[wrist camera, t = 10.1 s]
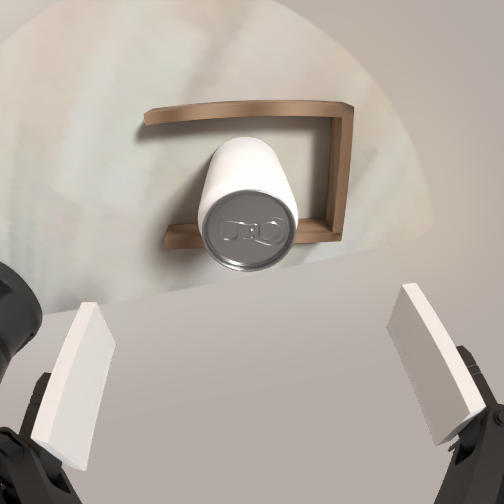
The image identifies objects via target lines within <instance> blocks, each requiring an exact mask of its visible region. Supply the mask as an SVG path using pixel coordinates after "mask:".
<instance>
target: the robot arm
mask: <svg viewBox="0 0 504 504" xmlns="http://www.w3.org/2000/svg"><path fill="white" fill-rule="evenodd" d="M41 323H42V311H41V308H40V305H39V303H38V301H37V299H36V297H35V295H34V294H33V292H32V291H31V289H30V288H29V286H28V285H27V284H26V283H25V282H24V281H23V279H22V278H21V277H20V276H19V275H18V274H16V273H15V272H14V271H13V270H12V269H10V268H9V267H8V266H6V265H5V264H3V263H1V262H0V383H1V381H2V378H3V376H4V374H5V372H6V369H7V367H8V365H9V363H10V361H11V359H12V357H13V356H14V355H15V354H16V353H17V352H18V351H20V349H22V348H23V347H24V346H25V345H26V344H27V343H28V342H29V341H31V340H32V339H33V338H34V337H35V335H36V334H37V332H38V330H39V328H40V326H41ZM387 330H388V332H389V334H390V336H391V338H392V340H393V342H394V345H395V347H396V349H397V351H398V354H399V356H400V358H401V361H402V363H403V365H404V367H405V370H406V372H407V374H408V377H409V379H410V382H411V384H412V386H413V388H414V391H415V394H416V396H417V398H418V401H419V404H420V406H421V409H422V411H423V414H424V416H425V419H426V422H427V424H428V427H429V430H430V433H431V435H432V438H433V441H434V444H435V446H438V445H440V444H443V443H445V442H448V441H450V440H452V439H453V438H454V437H455V436H456V435H457V434H458V435H459V438H460V439H459V440H458V441H456V443H454V444H453V445H452V446H450V448H449V450H448V451H449V452H450V451H451V450H453V449H454V448H455V450H454V452H453V456H452V459H451V462H450V465H449V467H448V470H447V473H446V475H445V478H444V480H443V483H442V485H441V488H440V490H439V493H438V495H437V497H436V499H435V502H434V504H504V405H502V404H498V403H497V402H496V400H495V398H494V396H493V394H492V392H491V390H490V388H489V386H488V384H487V382H486V380H485V378H484V376H483V375H482V373H481V371H480V369H479V367H478V366H477V365H476V362H475V360H474V358H473V356H472V355H471V353H470V352H469V351H467V349H466V348H464V347H463V346H458V347H455V346H454V344H453V342H452V340H451V339H450V337H449V335H448V333H447V332H446V330H445V329H444V327H443V325H442V323H441V322H440V320H439V319H438V317H437V315H436V314H435V312H434V310H433V309H432V307H431V306H430V304H429V303H428V301H427V299H426V298H425V296H424V295H423V293H422V292H421V290H420V289H419V287H418V285H417V284H416V283H411V284H402V285H401V288H400V291H399V295H398V297H397V300H396V303H395V306H394V309H393V312H392V315H391V318H390V320H389V323H388V325H387ZM115 346H116V343H115V341H114V339H113V337H112V335H111V333H110V331H109V329H108V326H107V324H106V322H105V320H104V318H103V315H102V313H101V311H100V309H99V306H98V304H97V302H82V303H81V306H80V308H79V310H78V312H77V314H76V317H75V319H74V321H73V323H72V325H71V328H70V330H69V332H68V334H67V337H66V339H65V342H64V344H63V346H62V349H61V352H60V354H59V356H58V359H57V361H56V364H55V366H54V369H53V371H52V373H45V372H44V374H43V375H42V376H41V377H40V379H39V380H38V381H37V383H36V386H35V388H34V391H33V395H32V396H31V399H30V404H29V405H28V407H27V410H26V413H25V416H24V420H23V423H22V426H21V429H20V432H19V435H17V434H16V433H15V432H14V431H13V430H11V429H10V428H8V427H0V504H82V503H81V501H80V499H79V497H78V496H77V494H76V492H75V491H74V489H73V487H72V485H71V483H70V481H69V479H68V478H67V476H66V474H65V472H64V470H63V469H62V468H61V466H62V462H63V463H64V464H66V465H67V466H69V467H71V468H76V469H79V470H83V471H86V468H87V462H88V457H89V452H90V447H91V442H92V437H93V432H94V428H95V423H96V419H97V414H98V410H99V406H100V402H101V397H102V393H103V390H104V386H105V382H106V378H107V374H108V371H109V367H110V363H111V360H112V356H113V353H114V350H115ZM1 483H2V485H1Z"/></svg>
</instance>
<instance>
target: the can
mask: <svg viewBox="0 0 504 504" xmlns="http://www.w3.org/2000/svg"><path fill="white" fill-rule="evenodd" d="M297 225H298V211H297V206H296V202H295V199H294V197H293V194H292V191H291V189H290V186H289V184H288V182H287V179H286V177H285V174H284V172H283V170H282V167H281V165H280V163H279V160H278V158H277V156H276V154H275V153H274V151H273V150H272V149H271V148H270V147H269V146H268V145H267V144H266V143H264V142H262V141H261V140H258V139H255V138H251V137H239V138H234V139H231V140H229V141H227V142H225V143H224V144H222V145H221V146H220V147H219V148H218V149H217V150H216V152H215V153H214V155H213V157H212V159H211V162H210V165H209V169H208V173H207V176H206V180H205V184H204V188H203V192H202V197H201V201H200V205H199V211H198V226H199V230H200V233H201V236H202V239H203V242H204V245H205V247H206V249H207V251H208V252H209V254H210V255H211V256H212V257H213V258H214V259H215V260H216V261H217V262H219V263H220V264H222V265H223V266H225V267H227V268H230V269H233V270H237V271H245V272H251V271H259V270H263V269H266V268H269V267H271V266H273V265H275V264H276V263H278V262H279V261H281V260H282V259H283V258H284V257H285V256H286V255H287V254H288V252H289V251H290V249H291V248H292V246H293V243H294V240H295V236H296V229H297Z"/></svg>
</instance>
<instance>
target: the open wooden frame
mask: <svg viewBox="0 0 504 504" xmlns="http://www.w3.org/2000/svg"><path fill="white" fill-rule="evenodd" d="M246 116H322V117H332V126H331V146H330V162H329V177H328V190H327V202H326V213H325V218H310V219H298V225H297V229H296V236H295V240H294V243H311V242H334V241H341V239H342V231H343V224H344V216H345V208H346V199H347V190H348V181H349V171H350V160H351V148H352V134H353V119H354V106H351V105H349V104H346V103H344V102H332V101H310V100H248V101H226V102H211V103H199V104H188V105H179V106H170V107H162V108H155V109H152V110H150V111H148V112H146V113H145V114H144V119H145V125H152V124H160V123H168V122H177V121H187V120H198V119H210V118H226V117H246ZM164 244H165V249H185V248H205V245H204V242H203V239H202V236H201V233H200V230H199V226H198V224H181V225H169V228H168V230H167V233H166V236H165V239H164Z"/></svg>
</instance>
